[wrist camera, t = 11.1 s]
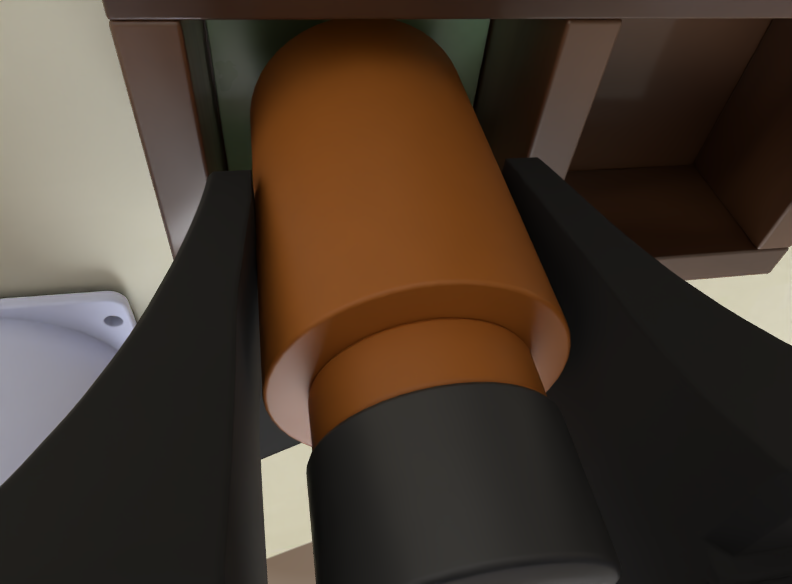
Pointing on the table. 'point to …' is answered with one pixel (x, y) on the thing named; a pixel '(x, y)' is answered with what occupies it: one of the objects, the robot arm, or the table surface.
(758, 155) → the holder
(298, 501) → the table surface
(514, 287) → the spice bottle
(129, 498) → the robot arm
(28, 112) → the table surface
